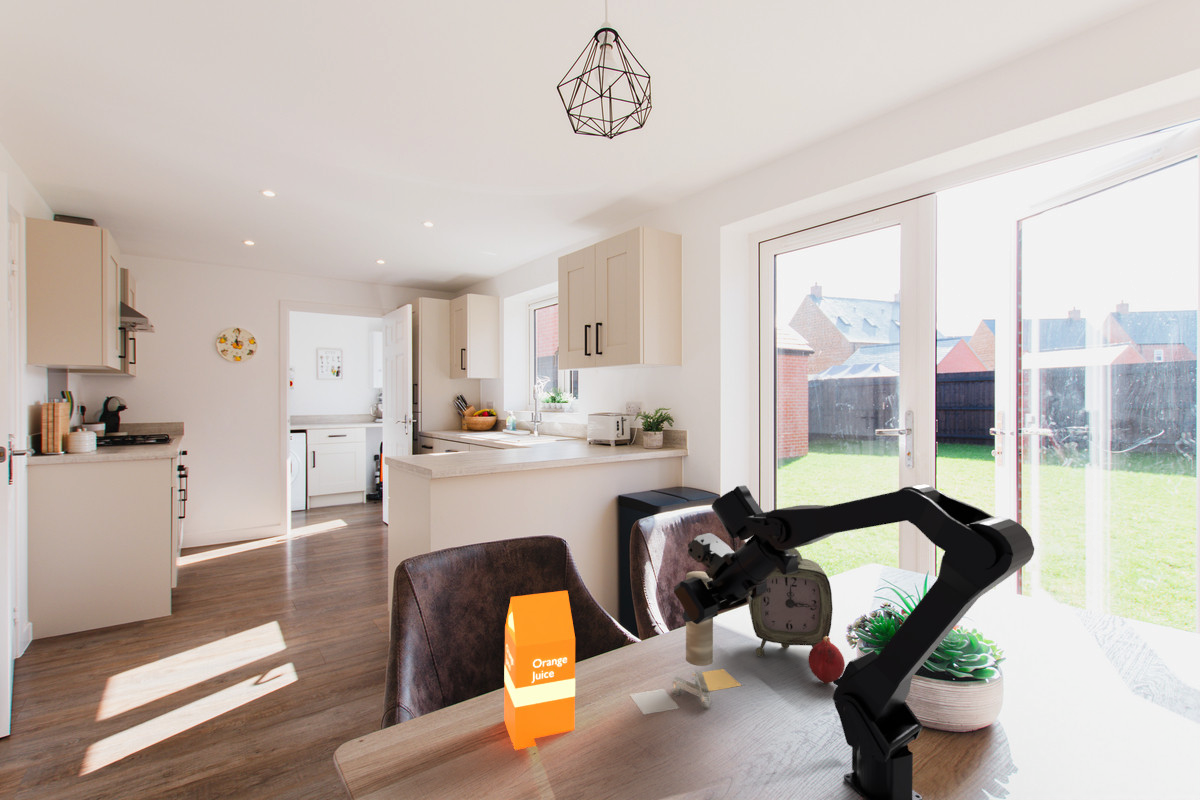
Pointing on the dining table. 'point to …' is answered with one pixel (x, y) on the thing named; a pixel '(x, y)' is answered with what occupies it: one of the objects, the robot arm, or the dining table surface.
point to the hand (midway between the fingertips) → (692, 615)
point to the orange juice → (539, 667)
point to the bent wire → (694, 688)
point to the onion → (826, 661)
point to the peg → (699, 634)
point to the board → (664, 702)
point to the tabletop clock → (793, 607)
